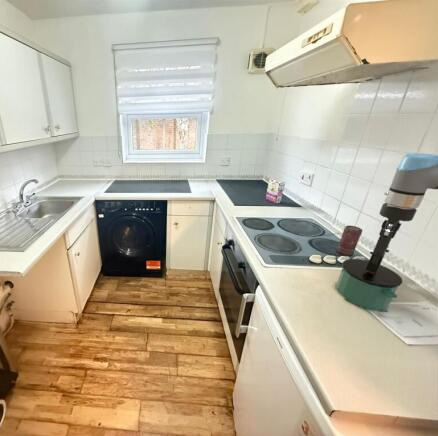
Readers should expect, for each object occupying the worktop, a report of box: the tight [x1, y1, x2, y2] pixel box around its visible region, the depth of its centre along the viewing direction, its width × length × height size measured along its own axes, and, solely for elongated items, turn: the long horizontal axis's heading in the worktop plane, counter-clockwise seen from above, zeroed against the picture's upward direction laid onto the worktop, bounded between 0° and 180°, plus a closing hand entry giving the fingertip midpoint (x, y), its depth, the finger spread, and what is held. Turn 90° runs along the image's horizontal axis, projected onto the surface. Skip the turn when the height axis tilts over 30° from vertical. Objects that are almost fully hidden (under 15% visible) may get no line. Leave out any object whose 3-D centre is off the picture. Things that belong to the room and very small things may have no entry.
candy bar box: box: [264, 178, 286, 205], centre depth 181 cm, size 11×5×16 cm, turn 15°
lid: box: [341, 252, 403, 287], centre depth 81 cm, size 16×16×9 cm
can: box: [336, 225, 364, 258], centre depth 110 cm, size 6×6×14 cm
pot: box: [335, 267, 399, 311], centre depth 85 cm, size 15×20×10 cm
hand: (371, 269), depth 82 cm, fingers closed on lid, 3 cm apart
